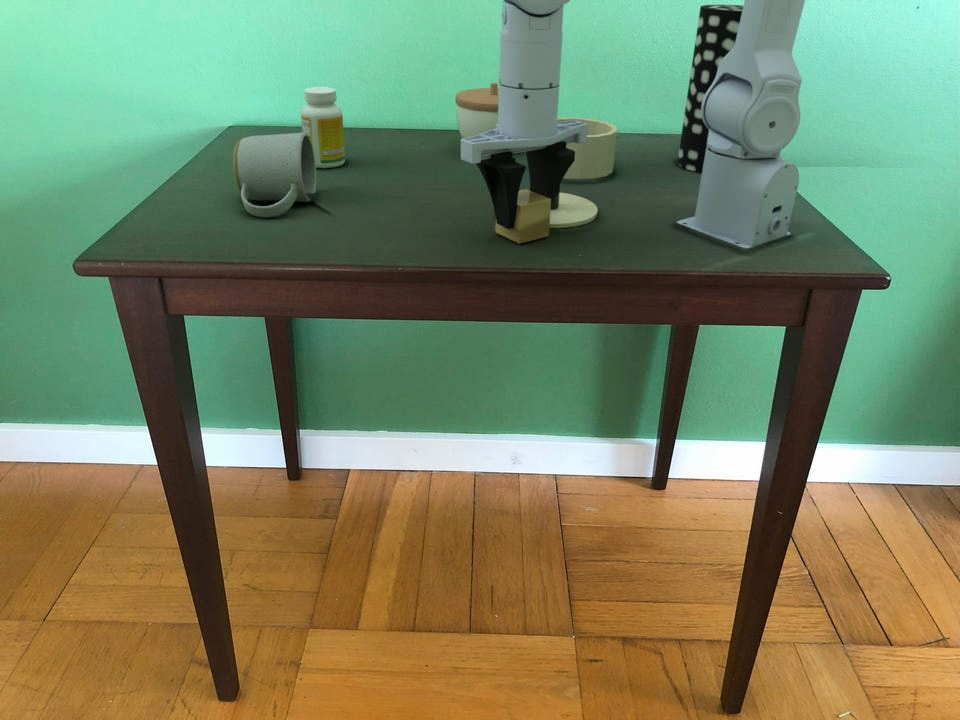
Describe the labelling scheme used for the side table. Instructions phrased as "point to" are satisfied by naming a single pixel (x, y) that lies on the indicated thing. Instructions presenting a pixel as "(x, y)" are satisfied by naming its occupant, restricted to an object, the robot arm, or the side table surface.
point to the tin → (593, 150)
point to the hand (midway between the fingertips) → (522, 221)
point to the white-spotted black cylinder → (705, 76)
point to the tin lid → (571, 211)
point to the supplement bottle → (324, 126)
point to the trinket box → (477, 110)
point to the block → (529, 218)
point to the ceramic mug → (274, 171)
